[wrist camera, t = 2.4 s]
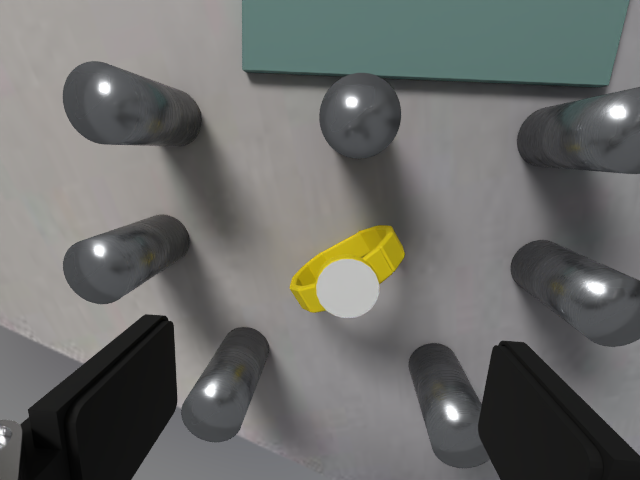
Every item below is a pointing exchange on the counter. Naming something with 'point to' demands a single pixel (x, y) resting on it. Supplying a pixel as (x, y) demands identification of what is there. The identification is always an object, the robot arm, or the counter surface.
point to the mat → (436, 39)
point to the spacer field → (355, 142)
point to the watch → (349, 273)
